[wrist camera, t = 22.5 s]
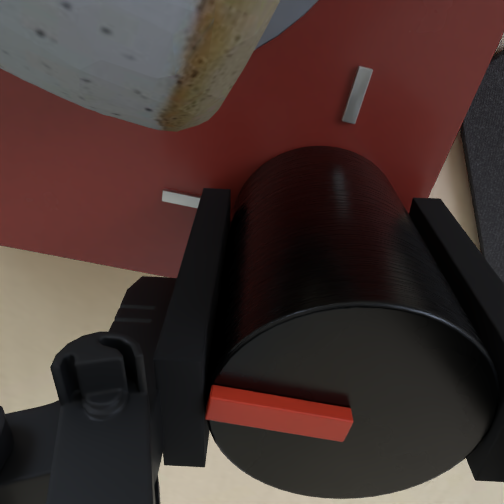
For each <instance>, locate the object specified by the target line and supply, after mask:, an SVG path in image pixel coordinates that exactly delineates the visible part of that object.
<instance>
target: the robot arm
mask: <svg viewBox="0 0 504 504" xmlns="http://www.w3.org/2000/svg"><path fill="white" fill-rule="evenodd" d="M230 206H231V189H215V188H203V191H202V195H201V198H200V201H199V205H198V208H197V212H196V215H195V218H194V222H193V225H192V229H191V232H190V235H189V239H188V242H187V246H186V249H185V252H184V256H183V259H182V262H181V266H180V269H179V273H178V276H177V278H167V277H145V276H142V277H141V278H140V279H139V280H138V281H136V282H135V283H134V284H133V285H132V286H131V287H130V288H128V289H127V291H126V294H125V296H124V298H123V300H122V303H121V305H120V308H119V309H118V312H117V314H116V316H115V321H114V322H113V323H112V325H111V328H110V330H109V332H97V333H93V334H88V335H84V336H82V337H80V338H78V339H76V340H74V341H72V342H70V343H68V344H67V345H66V346H65V347H64V348H63V349H62V350H61V351H60V352H59V353H58V354H57V355H56V356H55V359H54V361H53V363H52V365H51V367H50V368H51V372H52V375H53V379H54V383H55V386H56V390H57V394H58V397H59V400H58V401H56V402H54V403H51V404H48V405H44V406H41V407H36V408H32V409H27V410H22V411H18V412H13V413H8V414H5V413H4V410H3V408H2V407H1V406H0V504H160V490H159V481H158V471H159V467H160V462H161V457H162V453H163V457H164V465H172V466H192V467H205V461H206V453H207V446H208V438H209V427H208V423H207V420H206V419H205V398H206V391H207V384H208V377H209V370H210V363H211V356H212V350H213V343H214V336H215V329H216V322H217V315H218V309H219V302H220V295H221V288H222V281H223V274H224V267H225V261H226V254H227V247H228V240H229V233H230ZM409 216H410V218H411V219H412V221H413V223H414V224H415V226H416V228H417V230H418V231H419V233H420V235H421V237H422V238H423V240H424V242H425V244H426V245H427V247H428V249H429V251H430V252H431V254H432V256H433V258H434V259H435V261H436V263H437V265H438V266H439V268H440V270H441V271H442V273H443V275H444V277H445V278H446V280H447V282H448V284H449V285H450V287H451V289H452V291H453V292H454V294H455V296H456V298H457V299H458V301H459V303H460V305H461V306H462V308H463V310H464V312H465V313H466V315H467V317H468V318H469V320H470V322H471V324H472V325H473V327H474V329H475V331H476V332H477V334H478V336H479V338H480V339H481V341H482V343H483V345H484V346H485V348H486V350H487V352H488V353H489V355H490V357H491V359H492V360H493V363H494V366H495V368H496V371H497V373H498V379H499V385H500V395H499V406H498V410H497V414H496V417H495V419H494V422H493V424H492V426H491V428H490V430H489V431H488V433H487V434H486V436H485V438H484V439H483V440H482V442H481V443H480V444H479V445H478V446H477V447H476V448H475V450H474V451H473V452H471V453H470V454H469V455H468V456H467V457H466V459H467V461H468V464H469V466H470V469H471V471H472V474H473V476H474V479H475V480H476V481H496V482H504V283H503V282H502V280H501V279H500V278H499V276H498V275H497V274H496V272H495V271H494V270H493V268H492V267H491V266H490V264H489V263H488V262H487V260H486V259H485V258H484V256H483V255H482V254H481V252H480V251H479V250H478V248H477V247H476V246H475V244H474V243H473V242H472V240H471V239H470V238H469V236H468V235H467V234H466V232H465V231H464V230H463V228H462V227H461V226H460V224H459V223H458V222H457V220H456V219H455V218H454V216H453V215H452V214H451V212H450V211H449V210H448V208H447V207H446V206H445V204H444V203H443V202H442V200H441V199H435V198H413V199H412V203H411V207H410V211H409Z"/></svg>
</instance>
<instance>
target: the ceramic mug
mask: <svg viewBox="0 0 504 504" xmlns="http://www.w3.org/2000/svg"><path fill="white" fill-rule="evenodd" d="M279 2H280V0H0V68H1V69H3V70H5V71H7V72H9V73H11V74H13V75H15V76H17V77H19V78H21V79H22V80H24V81H27V82H29V83H31V84H34V85H36V86H38V87H40V88H42V89H44V90H46V91H48V92H50V93H53V94H55V95H57V96H59V97H61V98H64V99H66V100H68V101H71V102H73V103H75V104H78V105H80V106H82V107H84V108H87V109H90V110H93V111H96V112H98V113H100V114H103V115H106V116H111V117H115V118H118V119H122V120H125V121H128V122H132V123H135V124H138V125H142V126H145V127H148V128H152V129H157V130H163V131H175V132H177V131H180V130H183V129H187V128H190V127H193V126H197V125H199V124H201V123H203V122H206V121H208V120H209V119H210V118H211V117H212V116H213V115H214V114H215V113H216V112H217V111H218V110H219V108H220V107H221V105H222V103H223V102H224V100H225V98H226V97H227V95H228V94H229V92H230V90H231V89H232V87H233V85H234V84H235V82H236V81H237V79H238V77H239V76H240V74H241V72H242V71H243V69H244V68H245V66H246V64H247V62H248V60H249V59H250V57H251V55H252V53H253V51H254V49H255V48H256V46H257V44H258V42H259V40H260V39H261V37H262V35H263V33H264V31H265V29H266V27H267V25H268V23H269V21H270V19H271V17H272V16H273V14H274V12H275V10H276V8H277V6H278V4H279Z"/></svg>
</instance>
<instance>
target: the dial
mask: <svg viewBox="0 0 504 504" xmlns="http://www.w3.org/2000/svg"><path fill="white" fill-rule="evenodd" d="M499 395H500V385H499V379H498V373H497V371H496V368H495V366H494V363H493V360H492V359H491V357H490V355H489V353H488V352H487V350H486V348H485V346H484V345H483V343H482V341H481V339H480V338H479V336H478V334H477V332H476V331H475V329H474V327H473V325H472V324H471V322H470V320H469V318H468V317H467V315H466V313H465V312H464V310H463V308H462V306H461V305H460V303H459V301H458V299H457V298H456V296H455V294H454V292H453V291H452V289H451V287H450V285H449V284H448V282H447V280H446V278H445V277H444V275H443V273H442V271H441V270H440V268H439V266H438V265H437V263H436V261H435V259H434V258H433V256H432V254H431V252H430V251H429V249H428V247H427V245H426V244H425V242H424V240H423V238H422V237H421V235H420V233H419V231H418V230H417V228H416V226H415V224H414V223H413V221H412V219H411V218H410V216H409V214H408V212H407V211H406V209H405V207H404V205H403V204H402V202H401V200H400V198H399V197H398V195H397V193H396V191H395V190H394V188H393V186H392V185H391V183H390V181H389V180H388V178H387V177H386V176H385V174H384V173H383V172H382V171H381V170H380V169H379V168H378V167H377V166H376V165H375V164H373V163H372V162H371V161H369V160H368V159H366V158H365V157H363V156H361V155H359V154H357V153H355V152H352V151H349V150H346V149H342V148H338V147H331V146H309V147H302V148H298V149H293V150H290V151H288V152H285V153H282V154H280V155H278V156H276V157H274V158H272V159H270V160H269V161H268V162H266V163H265V164H263V165H262V166H261V167H259V168H258V169H257V170H256V171H255V172H254V173H253V174H252V175H251V176H250V177H249V179H248V180H247V181H246V182H245V184H244V185H243V187H242V188H241V190H240V192H239V194H238V196H237V199H236V201H235V204H234V208H233V213H232V219H231V226H230V233H229V240H228V247H227V254H226V261H225V267H224V274H223V281H222V288H221V295H220V302H219V309H218V315H217V322H216V329H215V336H214V343H213V350H212V356H211V363H210V370H209V377H208V384H207V391H206V398H205V419H206V420H207V423H208V427H209V430H210V432H211V434H212V437H213V439H214V441H215V443H216V444H217V446H218V447H219V448H220V450H221V451H222V453H223V454H224V455H225V456H226V457H227V458H228V459H229V460H230V461H231V462H232V463H233V464H234V465H236V466H237V467H238V468H239V469H240V470H242V471H243V472H245V473H246V474H248V475H250V476H251V477H253V478H255V479H257V480H259V481H261V482H263V483H265V484H267V485H270V486H272V487H275V488H278V489H280V490H284V491H288V492H291V493H295V494H300V495H305V496H311V497H319V498H334V499H349V498H364V497H373V496H379V495H384V494H390V493H394V492H397V491H401V490H405V489H408V488H411V487H414V486H417V485H419V484H422V483H424V482H427V481H429V480H431V479H433V478H435V477H437V476H439V475H441V474H443V473H444V472H446V471H448V470H450V469H451V468H453V467H454V466H455V465H457V464H458V463H460V462H461V461H462V460H464V459H465V458H466V457H467V456H468V455H469V454H470V453H471V452H473V451H474V450H475V448H476V447H477V446H478V445H479V444H480V443H481V442H482V440H483V439H484V438H485V436H486V434H487V433H488V431H489V430H490V428H491V426H492V424H493V422H494V419H495V417H496V414H497V410H498V406H499Z"/></svg>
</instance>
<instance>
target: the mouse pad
mask: <svg viewBox="0 0 504 504" xmlns="http://www.w3.org/2000/svg"><path fill="white" fill-rule="evenodd" d="M460 130H461V136H462V142H463V148H464V154H465V159H466V165H467V171H468V177H469V183H470V189H471V194H472V200H473V206H474V212H475V218H476V224H477V230H478V235H479V241H480V247H481V253H482V255H483V256H484V258H485V259H486V260H487V262H488V263H489V264H490V266H491V267H492V268H493V270H494V271H495V272H496V274H497V275H498V276H499V278H500V279H501V280H502V282H503V283H504V50H503V51H501V52H499V53H498V54H496V55H495V56H493V57H492V59H491V61H490V64H489V66H488V68H487V70H486V72H485V75H484V77H483V79H482V81H481V83H480V85H479V88H478V90H477V92H476V94H475V96H474V99H473V101H472V103H471V105H470V107H469V110H468V112H467V114H466V116H465V118H464V120H463V123H462V125H461V127H460Z"/></svg>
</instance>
